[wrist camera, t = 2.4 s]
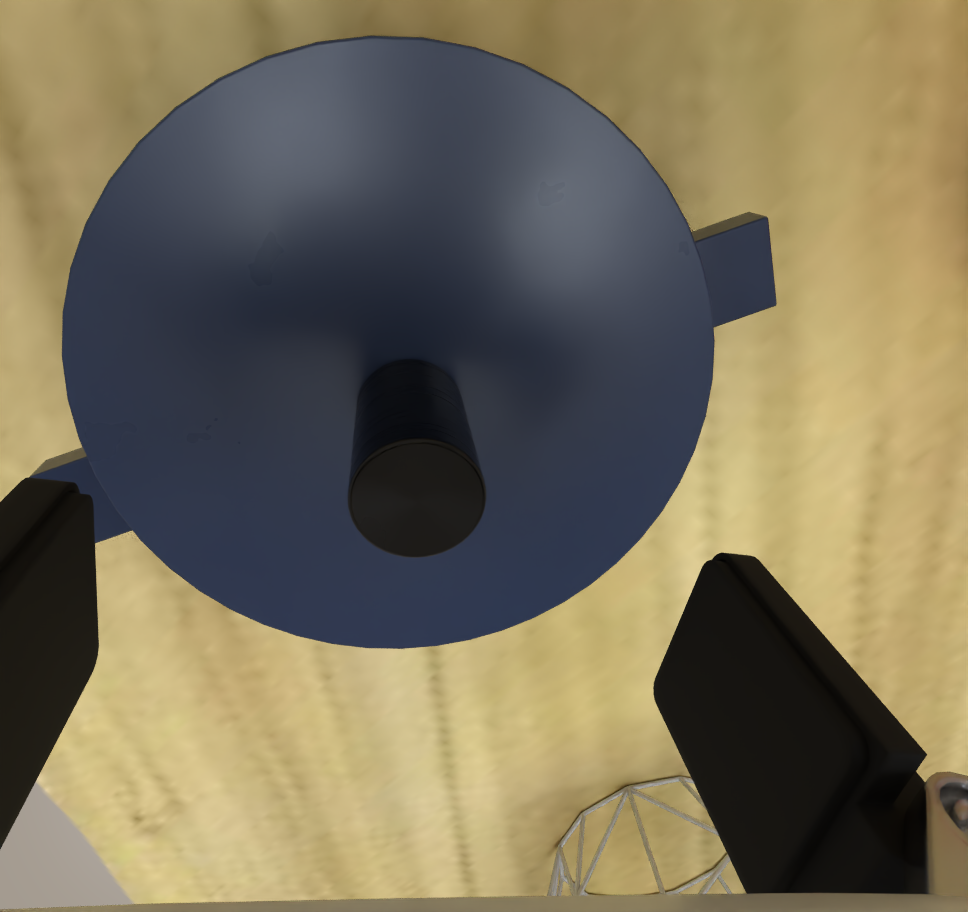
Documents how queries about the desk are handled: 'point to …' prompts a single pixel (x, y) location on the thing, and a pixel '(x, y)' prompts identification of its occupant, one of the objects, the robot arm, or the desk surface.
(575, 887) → the table lamp
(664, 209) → the lid
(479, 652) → the desk surface
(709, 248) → the pot
